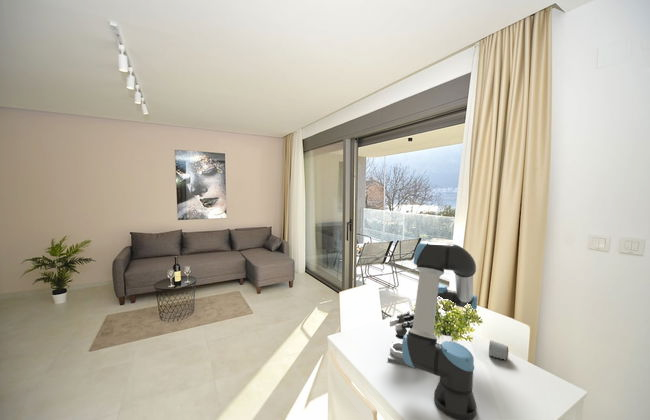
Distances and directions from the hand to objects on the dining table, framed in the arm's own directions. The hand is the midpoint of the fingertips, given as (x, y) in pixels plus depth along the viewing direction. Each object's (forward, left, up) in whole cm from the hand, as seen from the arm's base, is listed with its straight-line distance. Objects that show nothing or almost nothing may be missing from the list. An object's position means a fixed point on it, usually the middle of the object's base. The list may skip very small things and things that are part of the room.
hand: (393, 325), depth 134 cm
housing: (+4, -8, -17) cm, 19 cm away
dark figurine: (+4, -3, -7) cm, 9 cm away
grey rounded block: (+24, -50, -17) cm, 58 cm away
